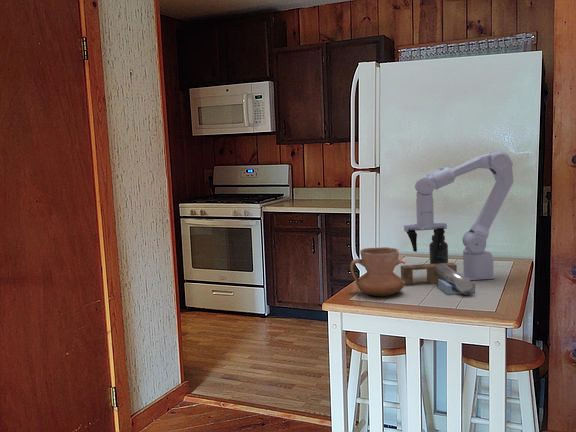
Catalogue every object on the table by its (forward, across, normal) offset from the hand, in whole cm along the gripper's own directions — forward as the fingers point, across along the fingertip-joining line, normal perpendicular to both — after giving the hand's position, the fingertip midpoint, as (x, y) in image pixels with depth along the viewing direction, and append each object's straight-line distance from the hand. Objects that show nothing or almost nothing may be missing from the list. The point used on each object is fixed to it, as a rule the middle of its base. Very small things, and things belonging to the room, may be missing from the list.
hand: (425, 250), depth 191 cm
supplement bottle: (+10, -10, -17) cm, 22 cm away
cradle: (+10, -4, +18) cm, 21 cm away
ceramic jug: (+10, +20, +15) cm, 27 cm away
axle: (+6, -4, +17) cm, 19 cm away
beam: (+10, +1, +6) cm, 12 cm away
